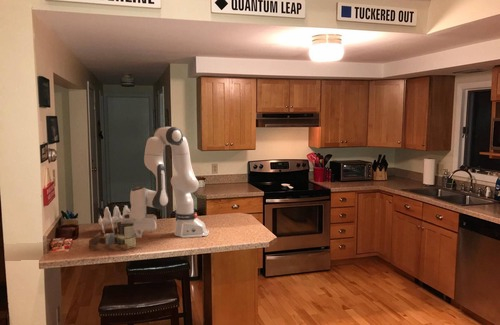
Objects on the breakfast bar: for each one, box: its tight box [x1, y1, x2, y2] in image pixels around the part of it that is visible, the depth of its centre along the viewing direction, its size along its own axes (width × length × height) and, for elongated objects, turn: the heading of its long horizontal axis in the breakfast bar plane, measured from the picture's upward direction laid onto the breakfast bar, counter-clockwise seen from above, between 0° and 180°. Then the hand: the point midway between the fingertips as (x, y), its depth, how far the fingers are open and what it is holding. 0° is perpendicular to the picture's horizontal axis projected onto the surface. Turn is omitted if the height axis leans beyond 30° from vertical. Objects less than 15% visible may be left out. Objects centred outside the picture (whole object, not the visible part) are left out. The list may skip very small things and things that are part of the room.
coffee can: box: [116, 222, 137, 249], centre depth 232 cm, size 10×10×14 cm
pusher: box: [103, 232, 116, 245], centre depth 232 cm, size 4×12×7 cm, turn 1°
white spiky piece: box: [98, 205, 131, 235], centre depth 262 cm, size 18×18×25 cm
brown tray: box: [88, 232, 128, 252], centre depth 232 cm, size 21×16×6 cm
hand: (139, 237), depth 232 cm, fingers closed
